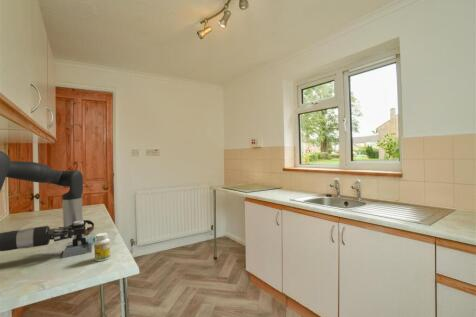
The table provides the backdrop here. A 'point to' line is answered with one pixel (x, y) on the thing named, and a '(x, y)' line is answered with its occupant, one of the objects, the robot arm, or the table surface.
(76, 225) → the push button
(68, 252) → the tray
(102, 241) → the supplement bottle
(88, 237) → the clip
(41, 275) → the table surface
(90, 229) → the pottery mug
